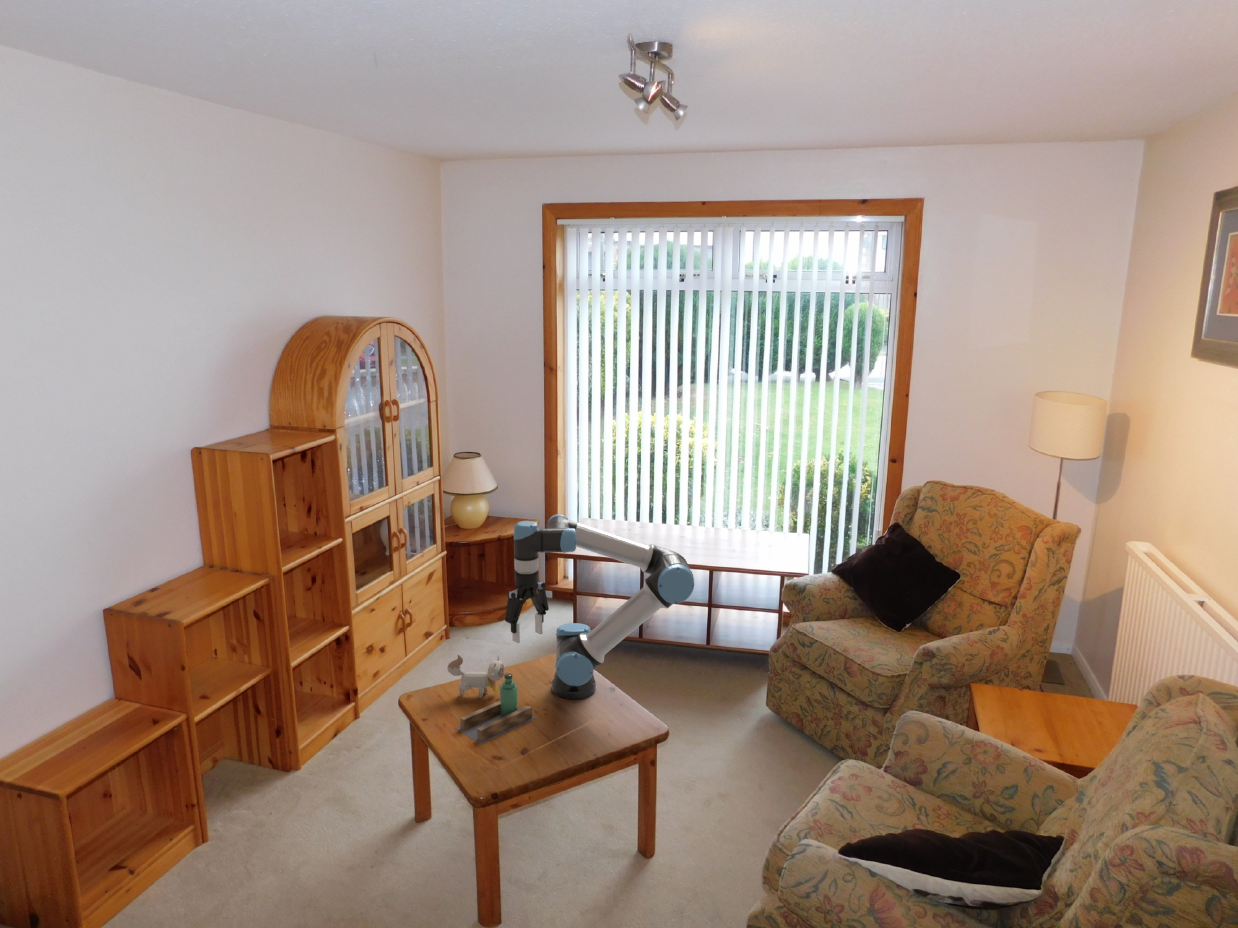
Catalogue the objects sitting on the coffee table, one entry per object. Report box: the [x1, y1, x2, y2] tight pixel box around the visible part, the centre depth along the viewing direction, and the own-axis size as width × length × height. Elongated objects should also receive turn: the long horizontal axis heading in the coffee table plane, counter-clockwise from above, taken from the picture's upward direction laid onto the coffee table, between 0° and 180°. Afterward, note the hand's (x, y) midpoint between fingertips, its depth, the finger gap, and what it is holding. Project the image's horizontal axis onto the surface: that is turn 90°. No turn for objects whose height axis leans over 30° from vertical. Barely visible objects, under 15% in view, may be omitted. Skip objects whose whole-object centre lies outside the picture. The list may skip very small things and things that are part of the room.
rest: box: [459, 700, 533, 741], centre depth 261 cm, size 20×11×4 cm, turn 136°
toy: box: [447, 654, 505, 699], centre depth 277 cm, size 9×19×15 cm, turn 89°
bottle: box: [499, 672, 519, 717], centre depth 264 cm, size 5×5×15 cm
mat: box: [455, 707, 537, 745], centre depth 262 cm, size 22×13×1 cm, turn 136°
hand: (527, 637), depth 266 cm, fingers open, 9 cm apart
